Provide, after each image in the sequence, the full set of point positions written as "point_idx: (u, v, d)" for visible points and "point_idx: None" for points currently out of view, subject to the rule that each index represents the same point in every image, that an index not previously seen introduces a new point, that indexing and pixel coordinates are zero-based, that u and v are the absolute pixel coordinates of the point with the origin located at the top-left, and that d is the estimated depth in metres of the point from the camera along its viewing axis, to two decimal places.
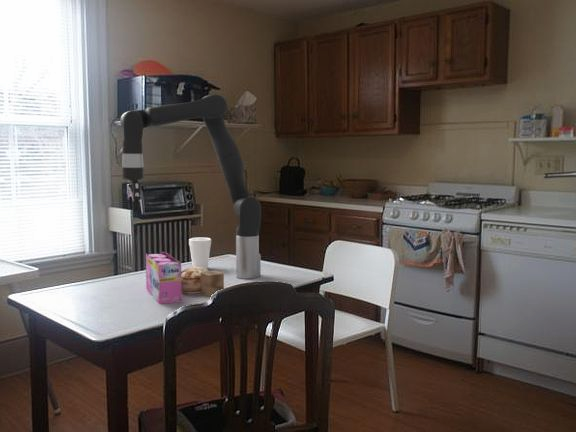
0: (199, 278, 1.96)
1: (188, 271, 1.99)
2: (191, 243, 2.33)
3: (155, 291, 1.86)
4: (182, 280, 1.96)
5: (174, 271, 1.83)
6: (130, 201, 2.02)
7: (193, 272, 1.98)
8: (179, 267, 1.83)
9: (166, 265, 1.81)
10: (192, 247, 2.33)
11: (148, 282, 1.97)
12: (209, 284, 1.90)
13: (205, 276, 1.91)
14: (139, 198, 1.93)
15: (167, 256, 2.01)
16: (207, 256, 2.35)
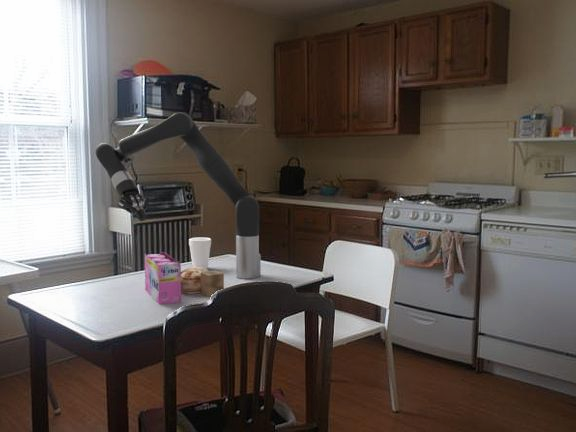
0: (199, 278, 1.96)
1: (188, 271, 1.99)
2: (191, 243, 2.33)
3: (154, 291, 1.86)
4: (182, 280, 1.96)
5: (173, 271, 1.82)
6: None
7: (193, 272, 1.98)
8: (178, 267, 1.83)
9: (165, 265, 1.81)
10: (192, 247, 2.33)
11: (147, 282, 1.96)
12: (209, 284, 1.90)
13: (205, 276, 1.91)
14: (132, 209, 2.00)
15: (166, 256, 2.00)
16: (207, 256, 2.35)
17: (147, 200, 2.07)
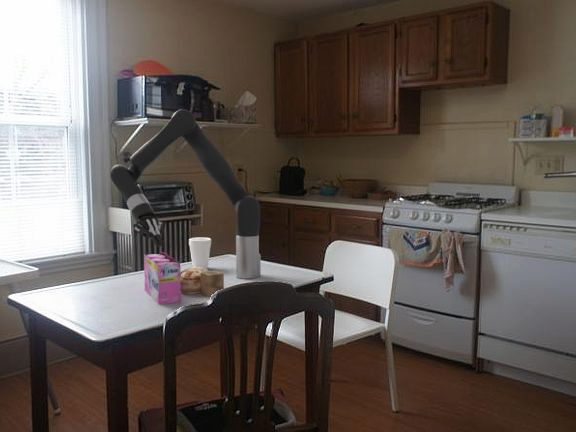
0: (199, 278, 1.96)
1: (188, 271, 1.98)
2: (191, 243, 2.33)
3: (154, 291, 1.86)
4: (182, 280, 1.95)
5: (173, 271, 1.82)
6: None
7: (193, 272, 1.98)
8: (178, 267, 1.83)
9: (165, 265, 1.81)
10: (192, 247, 2.33)
11: (147, 282, 1.96)
12: (209, 284, 1.90)
13: (205, 276, 1.91)
14: (149, 234, 1.94)
15: (166, 256, 2.00)
16: (207, 256, 2.35)
17: (164, 224, 2.01)
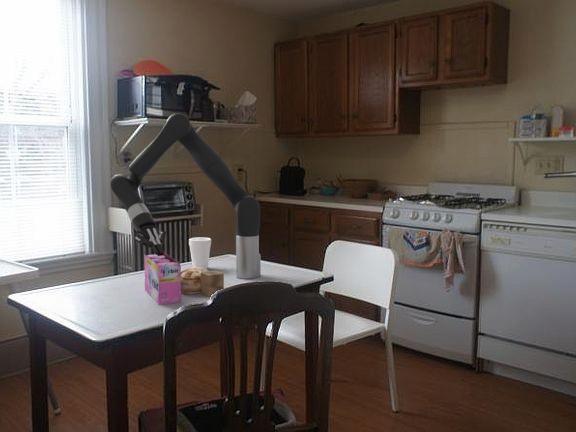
0: (199, 278, 1.96)
1: (188, 271, 1.98)
2: (191, 243, 2.33)
3: (154, 292, 1.86)
4: (182, 280, 1.95)
5: (173, 271, 1.82)
6: None
7: (193, 272, 1.97)
8: (178, 267, 1.83)
9: (165, 265, 1.81)
10: (192, 247, 2.33)
11: (147, 283, 1.96)
12: (209, 284, 1.90)
13: (205, 276, 1.91)
14: (149, 244, 1.94)
15: (166, 256, 2.00)
16: (207, 256, 2.35)
17: (164, 233, 2.01)
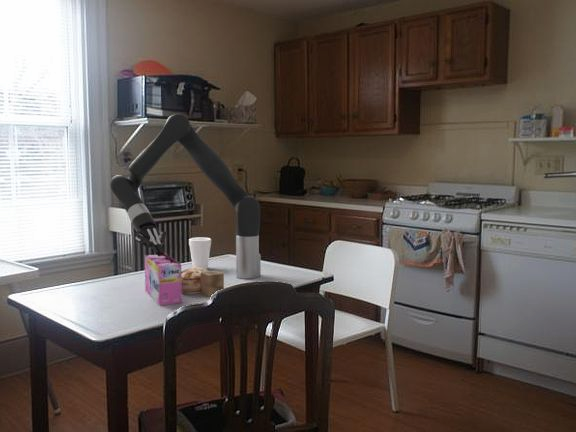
0: (199, 278, 1.96)
1: (188, 271, 1.98)
2: (191, 243, 2.33)
3: (155, 292, 1.85)
4: (182, 280, 1.95)
5: (174, 272, 1.81)
6: None
7: (193, 272, 1.97)
8: (179, 268, 1.82)
9: (166, 266, 1.80)
10: (192, 247, 2.33)
11: (147, 283, 1.95)
12: (209, 284, 1.90)
13: (205, 276, 1.91)
14: (149, 244, 1.94)
15: (166, 257, 1.99)
16: (207, 256, 2.35)
17: (164, 234, 2.01)
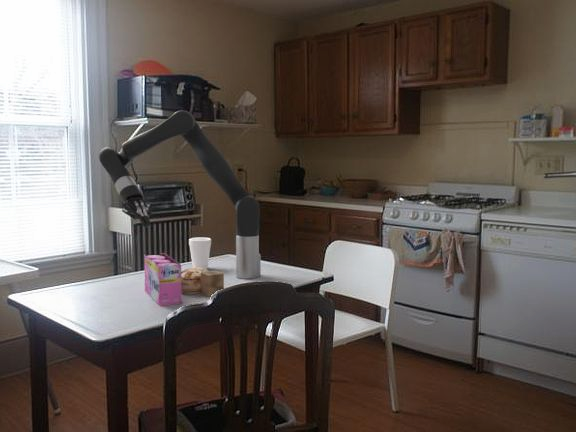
0: (199, 278, 1.96)
1: (188, 271, 1.98)
2: (191, 243, 2.33)
3: (155, 293, 1.84)
4: (182, 280, 1.95)
5: (174, 272, 1.81)
6: None
7: (193, 272, 1.97)
8: (179, 268, 1.81)
9: (166, 266, 1.79)
10: (192, 247, 2.33)
11: (147, 284, 1.95)
12: (209, 284, 1.90)
13: (205, 276, 1.91)
14: (136, 215, 1.98)
15: (166, 257, 1.99)
16: (207, 256, 2.35)
17: (151, 206, 2.05)
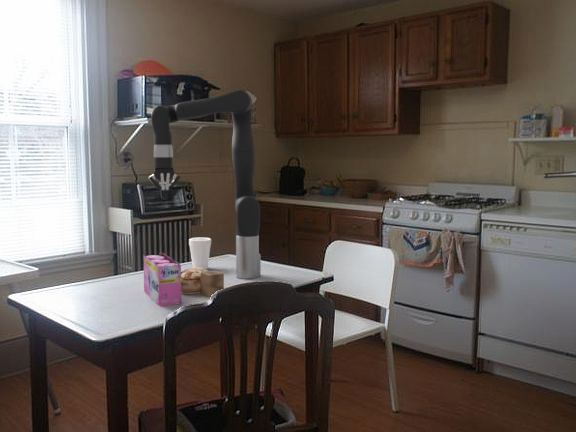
0: (199, 279, 1.95)
1: (188, 271, 1.98)
2: (191, 243, 2.33)
3: (154, 293, 1.84)
4: (182, 280, 1.95)
5: (174, 272, 1.81)
6: None
7: (193, 272, 1.97)
8: (179, 268, 1.81)
9: (166, 266, 1.79)
10: (192, 247, 2.33)
11: (146, 284, 1.94)
12: (209, 284, 1.90)
13: (205, 276, 1.91)
14: (157, 188, 2.17)
15: (165, 257, 1.98)
16: (207, 256, 2.35)
17: (177, 179, 2.19)
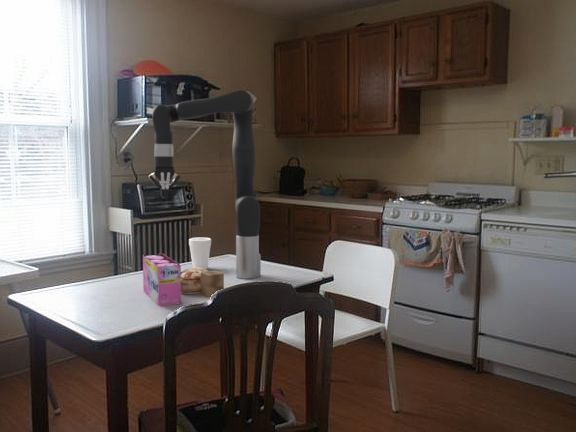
0: (199, 279, 1.95)
1: (188, 272, 1.98)
2: (191, 243, 2.33)
3: (154, 293, 1.84)
4: (181, 280, 1.95)
5: (173, 272, 1.80)
6: None
7: (193, 272, 1.97)
8: (178, 268, 1.81)
9: (165, 267, 1.79)
10: (192, 247, 2.33)
11: (146, 284, 1.94)
12: (209, 284, 1.90)
13: (205, 276, 1.91)
14: (157, 187, 2.17)
15: (164, 257, 1.98)
16: (207, 256, 2.35)
17: (177, 178, 2.19)
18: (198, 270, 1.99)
